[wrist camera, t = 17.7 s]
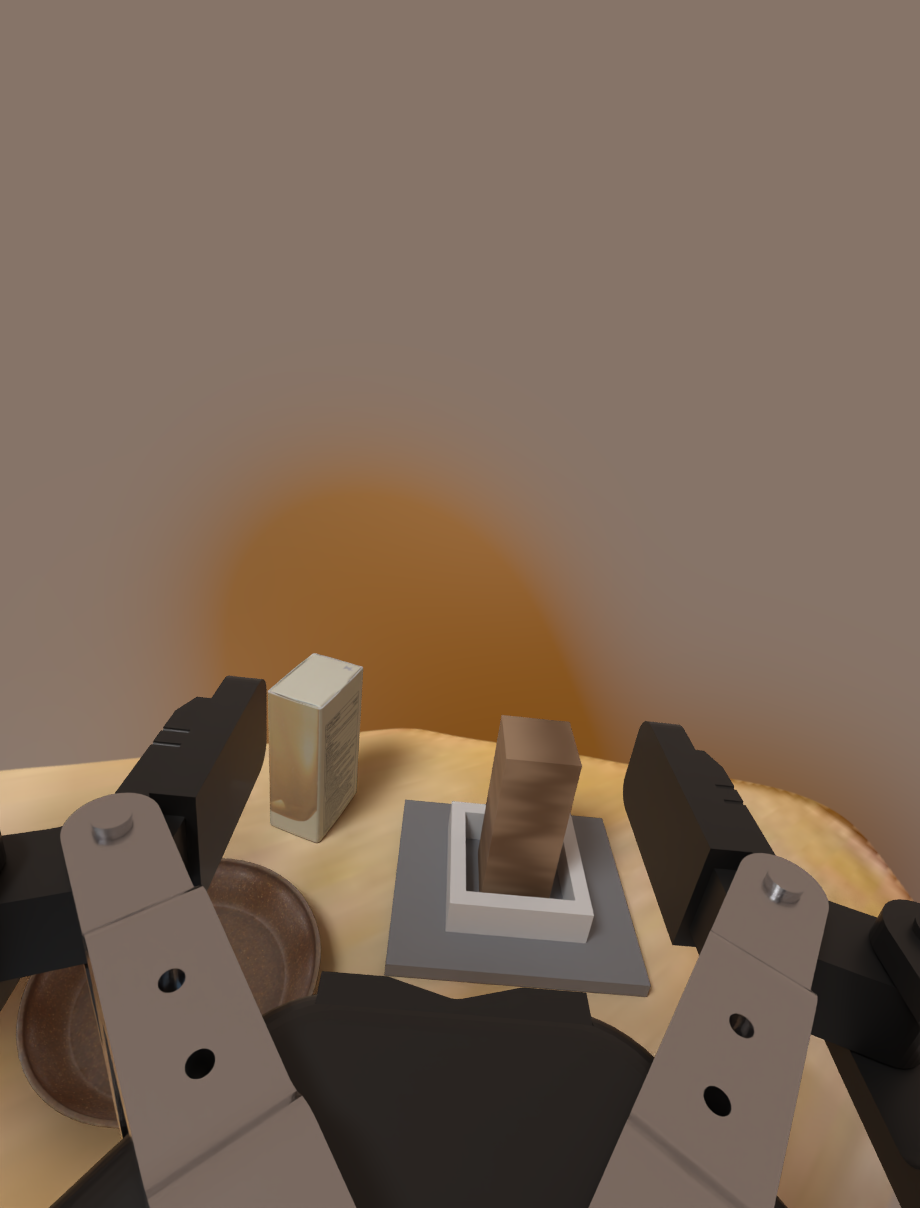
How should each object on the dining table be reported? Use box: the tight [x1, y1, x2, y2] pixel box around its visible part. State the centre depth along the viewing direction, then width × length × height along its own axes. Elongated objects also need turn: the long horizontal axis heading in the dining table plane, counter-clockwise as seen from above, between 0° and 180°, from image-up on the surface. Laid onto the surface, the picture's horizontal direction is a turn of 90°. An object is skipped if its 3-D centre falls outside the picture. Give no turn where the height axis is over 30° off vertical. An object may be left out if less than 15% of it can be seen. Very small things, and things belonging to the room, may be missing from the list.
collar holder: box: [384, 800, 651, 997], centre depth 43 cm, size 16×14×4 cm
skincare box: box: [268, 654, 363, 843], centre depth 46 cm, size 6×4×12 cm
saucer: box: [16, 858, 321, 1128], centre depth 34 cm, size 15×15×3 cm
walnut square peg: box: [478, 715, 582, 898], centre depth 41 cm, size 4×4×12 cm
